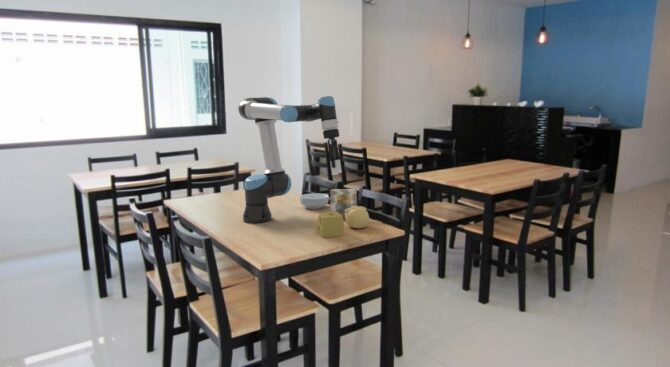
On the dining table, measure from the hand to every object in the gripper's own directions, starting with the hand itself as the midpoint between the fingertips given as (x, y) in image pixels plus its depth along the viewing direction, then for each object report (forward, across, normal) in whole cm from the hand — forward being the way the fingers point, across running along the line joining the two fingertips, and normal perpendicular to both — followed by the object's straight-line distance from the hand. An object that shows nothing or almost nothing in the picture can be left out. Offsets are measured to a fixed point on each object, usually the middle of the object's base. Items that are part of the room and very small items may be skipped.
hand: (337, 174), depth 220 cm
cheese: (+28, -2, +7) cm, 29 cm away
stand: (+25, +26, +4) cm, 36 cm away
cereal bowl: (+20, +48, +23) cm, 57 cm away
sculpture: (+28, +11, -4) cm, 31 cm away
